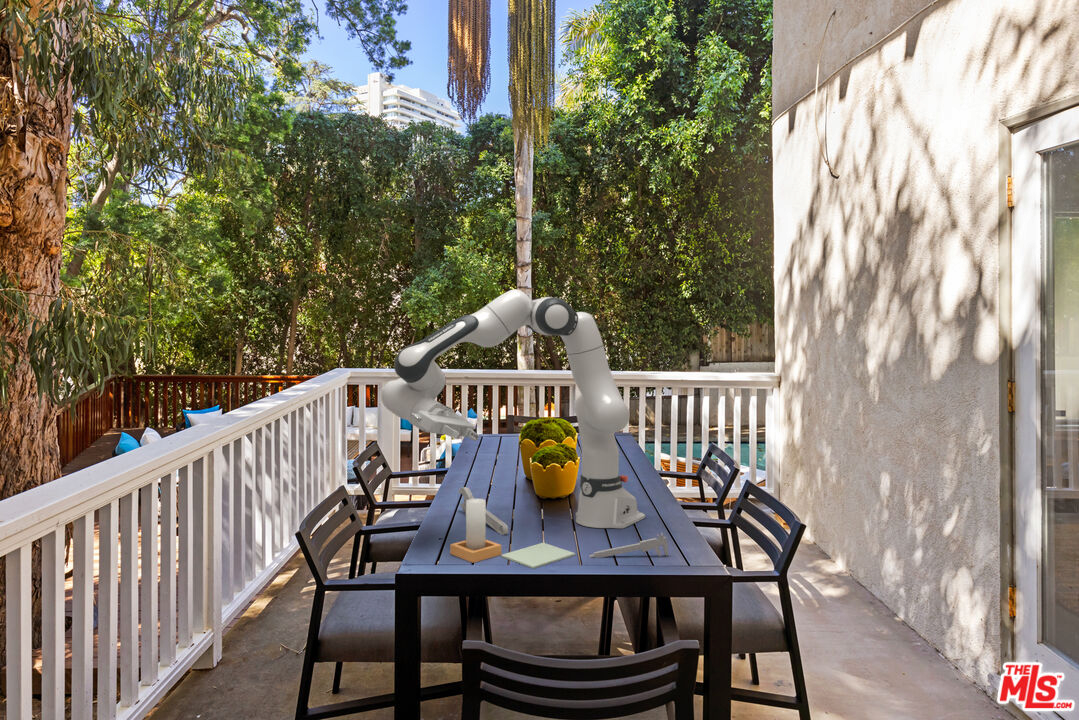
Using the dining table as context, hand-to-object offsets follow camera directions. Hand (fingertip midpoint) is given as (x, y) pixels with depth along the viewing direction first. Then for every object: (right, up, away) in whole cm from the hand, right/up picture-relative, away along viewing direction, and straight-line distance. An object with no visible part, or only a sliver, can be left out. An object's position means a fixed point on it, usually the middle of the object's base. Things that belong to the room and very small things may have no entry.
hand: (468, 437), depth 191 cm
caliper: (+42, -31, -4) cm, 52 cm away
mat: (+19, -30, -4) cm, 36 cm away
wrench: (+2, -29, +26) cm, 39 cm away
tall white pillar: (+2, -30, -3) cm, 30 cm away
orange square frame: (+2, -30, -3) cm, 30 cm away
